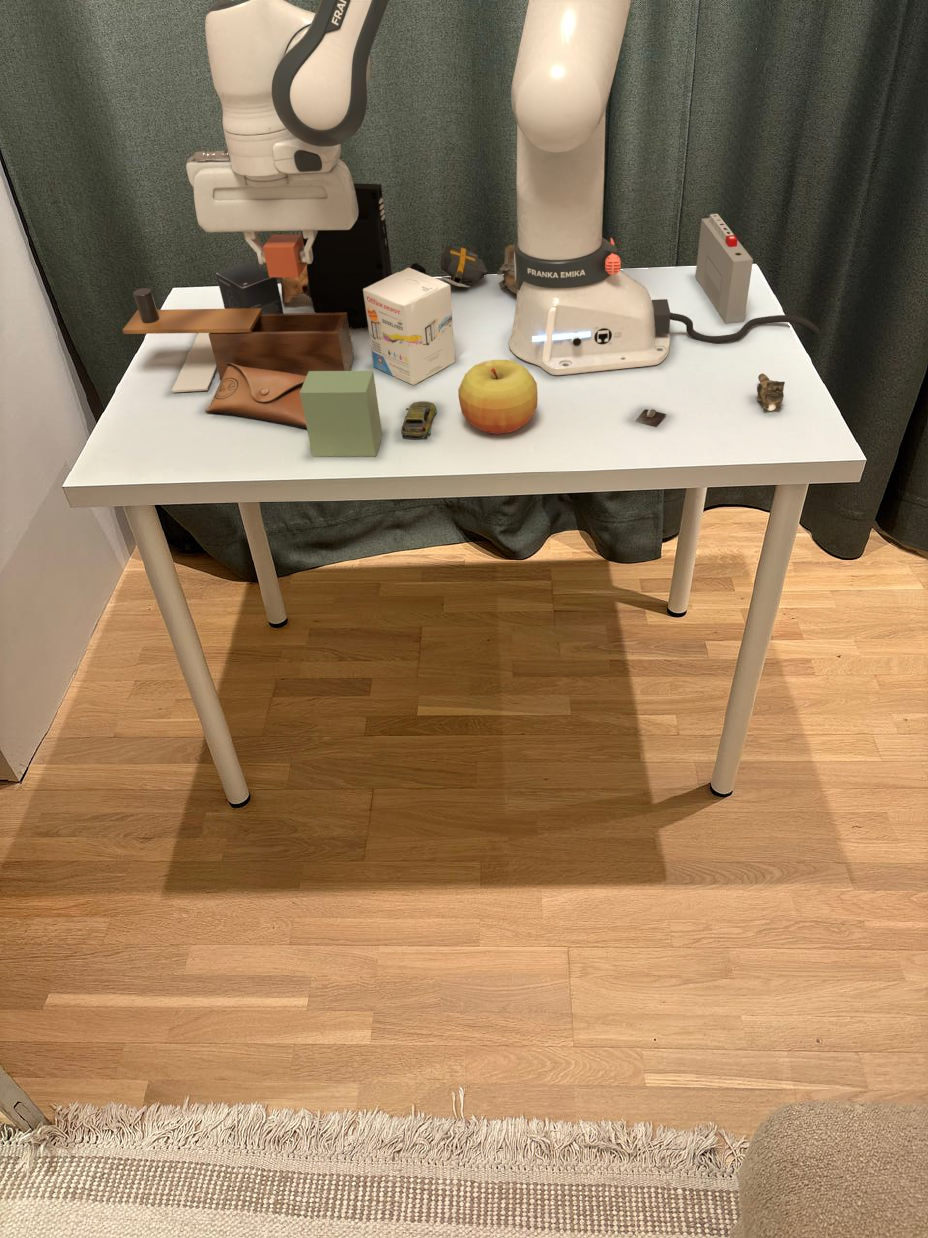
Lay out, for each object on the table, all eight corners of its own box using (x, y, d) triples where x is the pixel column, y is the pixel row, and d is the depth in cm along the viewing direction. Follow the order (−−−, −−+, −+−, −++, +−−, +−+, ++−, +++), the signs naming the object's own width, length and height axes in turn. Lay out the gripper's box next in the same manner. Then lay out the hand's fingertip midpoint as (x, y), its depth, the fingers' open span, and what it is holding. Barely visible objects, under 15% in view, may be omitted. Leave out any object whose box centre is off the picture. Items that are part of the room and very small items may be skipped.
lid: (262, 311, 133) (255, 279, 130) (251, 332, 128) (243, 299, 125) (138, 313, 135) (128, 282, 132) (123, 334, 131) (112, 301, 127)
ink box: (371, 367, 134) (360, 286, 126) (415, 344, 138) (407, 264, 130) (413, 386, 129) (404, 304, 121) (457, 362, 134) (451, 281, 126)
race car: (439, 406, 125) (437, 389, 124) (428, 440, 120) (426, 423, 118) (411, 406, 126) (409, 389, 124) (399, 439, 120) (397, 422, 119)
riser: (382, 434, 121) (373, 370, 115) (375, 456, 118) (366, 391, 112) (320, 434, 122) (308, 370, 116) (312, 456, 119) (299, 392, 113)
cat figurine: (763, 417, 118) (766, 385, 116) (748, 396, 125) (751, 365, 123) (786, 415, 118) (790, 383, 116) (769, 394, 124) (773, 364, 122)
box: (291, 344, 141) (276, 274, 133) (257, 358, 138) (241, 287, 131) (264, 327, 145) (248, 258, 138) (231, 340, 143) (214, 271, 136)
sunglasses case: (199, 411, 127) (202, 360, 126) (229, 411, 134) (232, 362, 132) (320, 431, 122) (324, 377, 120) (344, 430, 128) (349, 379, 127)
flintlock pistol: (563, 285, 142) (495, 284, 142) (561, 308, 144) (495, 307, 144) (560, 238, 156) (499, 237, 156) (559, 260, 158) (498, 259, 158)
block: (306, 264, 126) (301, 234, 123) (298, 277, 123) (293, 246, 121) (277, 264, 127) (271, 234, 124) (269, 277, 124) (262, 246, 121)
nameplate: (172, 392, 132) (207, 390, 132) (171, 390, 132) (207, 388, 132) (206, 320, 148) (237, 318, 148) (205, 318, 148) (237, 315, 147)
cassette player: (743, 321, 137) (754, 252, 130) (725, 323, 137) (734, 254, 130) (712, 275, 148) (720, 209, 141) (695, 277, 148) (702, 211, 141)
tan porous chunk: (274, 224, 146) (329, 222, 148) (280, 269, 156) (331, 267, 157) (280, 287, 142) (337, 285, 143) (285, 330, 151) (338, 327, 152)
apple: (458, 445, 118) (453, 387, 113) (462, 403, 125) (458, 347, 120) (538, 443, 118) (537, 385, 112) (537, 401, 125) (537, 344, 119)
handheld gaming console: (399, 320, 144) (383, 182, 130) (390, 334, 141) (373, 194, 127) (325, 315, 147) (301, 180, 133) (314, 329, 144) (289, 192, 130)
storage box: (354, 358, 136) (346, 311, 132) (346, 379, 132) (338, 332, 127) (232, 359, 138) (220, 313, 134) (220, 380, 134) (208, 334, 129)
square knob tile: (656, 427, 119) (656, 418, 118) (634, 421, 120) (634, 413, 119) (666, 414, 120) (666, 406, 119) (645, 408, 121) (645, 400, 120)
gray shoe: (447, 231, 157) (440, 255, 159) (442, 262, 145) (434, 287, 147) (490, 246, 158) (482, 269, 160) (488, 278, 146) (480, 302, 149)
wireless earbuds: (410, 290, 150) (437, 286, 153) (410, 274, 149) (438, 270, 151) (387, 276, 155) (414, 272, 157) (388, 260, 153) (414, 256, 155)
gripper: (174, 160, 114) (202, 273, 123) (342, 156, 111) (358, 271, 121) (190, 143, 118) (216, 253, 128) (352, 138, 116) (367, 251, 125)
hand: (286, 262), depth 124 cm, fingers closed on block, 4 cm apart
